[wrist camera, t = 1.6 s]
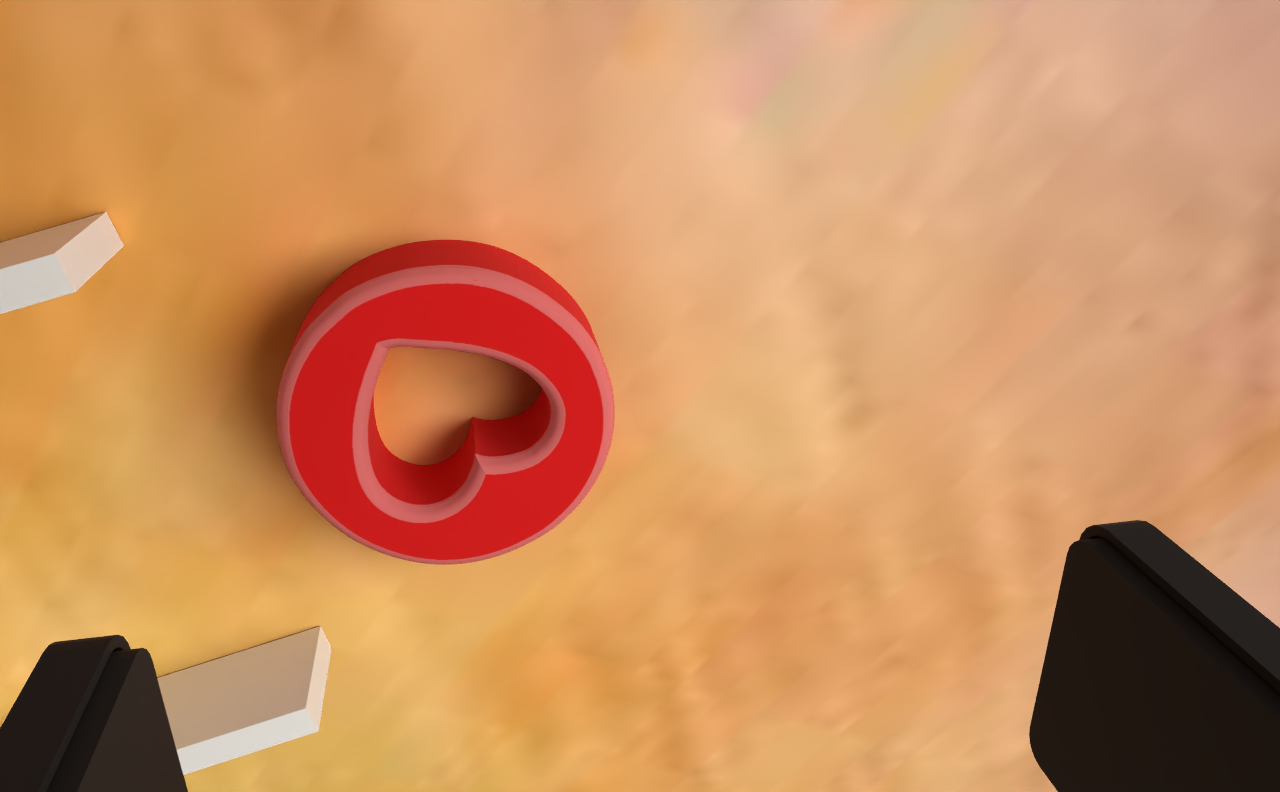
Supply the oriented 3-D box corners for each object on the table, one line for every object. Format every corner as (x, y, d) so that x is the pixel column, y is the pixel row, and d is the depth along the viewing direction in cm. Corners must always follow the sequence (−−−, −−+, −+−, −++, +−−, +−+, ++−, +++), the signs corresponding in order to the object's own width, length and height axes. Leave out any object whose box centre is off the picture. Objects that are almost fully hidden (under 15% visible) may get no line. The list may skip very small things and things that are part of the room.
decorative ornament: (396, 173, 28) (390, 199, 25) (659, 343, 32) (680, 383, 29) (231, 429, 30) (209, 480, 27) (494, 560, 34) (498, 616, 31)
